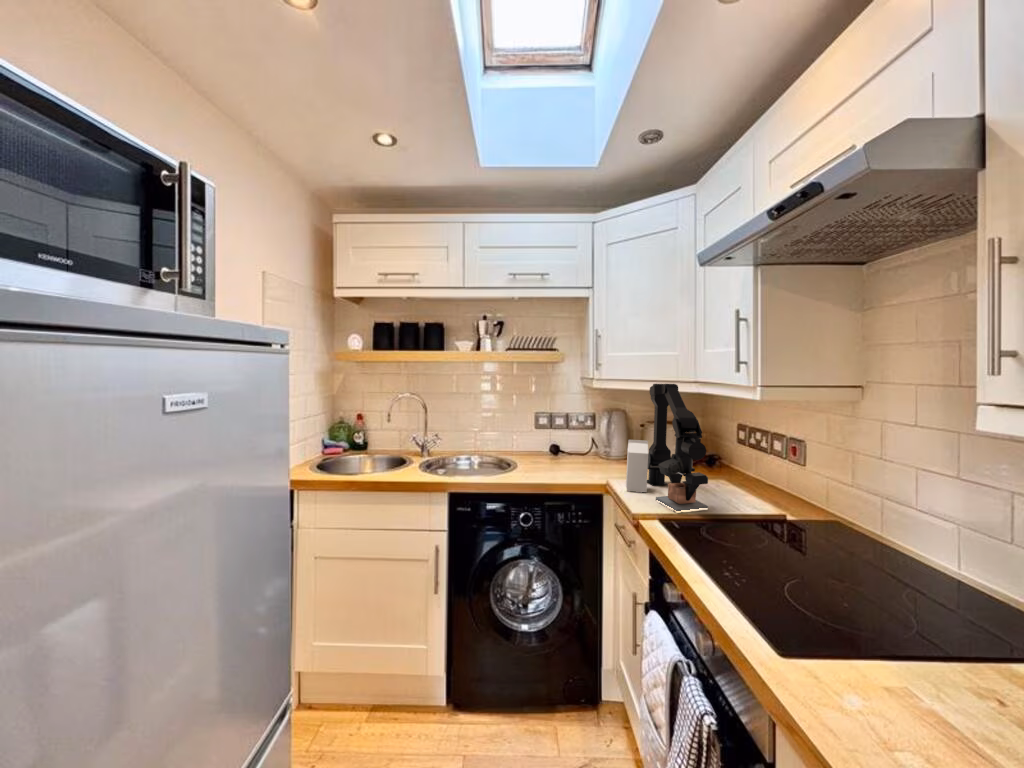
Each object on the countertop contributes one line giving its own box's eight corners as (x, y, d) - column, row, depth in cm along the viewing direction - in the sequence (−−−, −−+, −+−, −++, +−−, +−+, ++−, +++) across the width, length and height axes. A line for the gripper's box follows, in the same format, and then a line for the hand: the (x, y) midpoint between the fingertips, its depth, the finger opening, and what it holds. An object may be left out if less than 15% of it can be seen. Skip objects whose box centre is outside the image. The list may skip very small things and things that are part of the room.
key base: (655, 501, 162) (656, 484, 161) (684, 498, 165) (685, 482, 164) (676, 513, 150) (677, 495, 150) (707, 510, 153) (708, 492, 153)
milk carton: (646, 493, 170) (648, 442, 168) (626, 491, 171) (628, 441, 169) (644, 487, 177) (647, 438, 175) (625, 485, 178) (627, 437, 176)
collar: (667, 497, 159) (668, 483, 159) (683, 496, 161) (684, 482, 161) (679, 503, 153) (680, 489, 153) (695, 502, 155) (696, 488, 155)
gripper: (647, 447, 162) (645, 490, 164) (680, 460, 145) (678, 508, 146) (674, 445, 166) (672, 488, 167) (710, 458, 148) (707, 505, 149)
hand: (681, 497), depth 157 cm, fingers closed on collar, 6 cm apart
